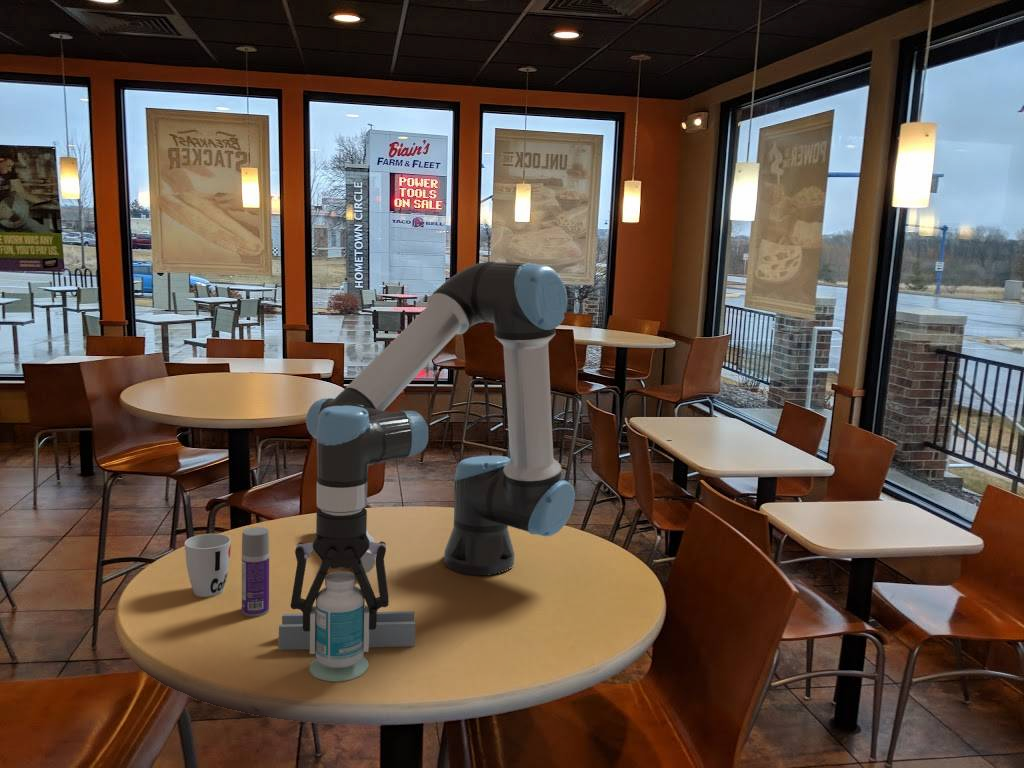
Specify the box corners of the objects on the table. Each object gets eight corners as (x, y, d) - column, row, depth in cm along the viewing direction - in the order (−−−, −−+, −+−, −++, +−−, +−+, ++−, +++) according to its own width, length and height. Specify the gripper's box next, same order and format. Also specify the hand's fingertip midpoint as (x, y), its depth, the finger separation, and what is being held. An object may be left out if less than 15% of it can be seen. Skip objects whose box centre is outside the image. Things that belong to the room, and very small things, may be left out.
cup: (215, 602, 145) (215, 550, 143) (176, 597, 146) (175, 545, 145) (239, 585, 153) (239, 536, 151) (201, 580, 154) (201, 531, 153)
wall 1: (414, 643, 133) (415, 621, 132) (414, 646, 132) (415, 623, 132) (279, 647, 129) (279, 624, 129) (278, 650, 129) (278, 626, 128)
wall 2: (413, 632, 137) (414, 611, 136) (413, 635, 136) (414, 613, 135) (282, 636, 133) (282, 613, 133) (281, 638, 133) (282, 615, 132)
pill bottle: (370, 650, 127) (372, 570, 125) (352, 673, 120) (354, 589, 118) (327, 644, 128) (328, 565, 126) (306, 666, 121) (307, 582, 119)
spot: (368, 652, 129) (368, 651, 129) (367, 680, 121) (367, 679, 121) (312, 653, 128) (312, 652, 128) (306, 682, 119) (306, 681, 119)
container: (274, 608, 144) (274, 529, 142) (258, 618, 139) (258, 537, 137) (252, 603, 145) (252, 525, 143) (236, 613, 141) (235, 533, 139)
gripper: (408, 500, 126) (404, 635, 129) (276, 500, 123) (276, 639, 126) (409, 515, 118) (405, 658, 122) (269, 516, 115) (269, 662, 119)
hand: (339, 648), depth 124 cm, fingers closed on pill bottle, 7 cm apart
